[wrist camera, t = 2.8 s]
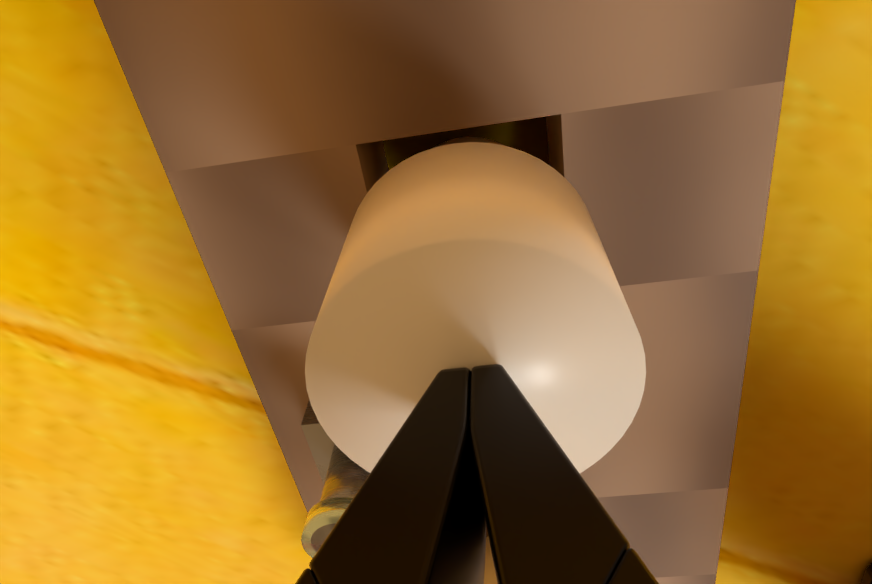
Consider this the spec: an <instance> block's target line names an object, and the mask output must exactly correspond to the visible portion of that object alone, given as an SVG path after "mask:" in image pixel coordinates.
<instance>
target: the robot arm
mask: <svg viewBox="0 0 872 584" xmlns="http://www.w3.org/2000/svg"><path fill="white" fill-rule="evenodd" d="M486 526H487V531H488V537H489V542H490V548H491V553H492V558H493V563H494V568H495V573H496V579H497V584H659V583H658V581H657V580H656V579H655V577H654V576H653V575H652V573H651V572H650V571H649V569H648V568H647V566H646V565H645V564H644V562H643V561H642V559H641V558H640V557H639V555H638V554H637V552H636V551H635V550H634V549H633V548H630V544H629V542H628V540H627V539H626V538H625V536H624V535H623V533H622V532H621V531H620V529H619V528H618V526H617V525H616V524H615V522H614V521H613V519H612V518H611V517H610V515H609V514H608V512H607V511H606V510H605V508H604V507H603V505H602V504H601V503H600V501H599V500H598V498H597V497H596V496H595V494H594V493H593V491H592V490H591V489H590V487H589V486H588V484H587V483H586V482H585V480H584V479H583V478H582V476H581V475H580V473H579V472H578V471H577V469H576V468H575V466H574V465H573V464H572V462H571V461H570V459H569V458H568V457H567V455H566V454H565V452H564V451H563V450H562V448H561V447H560V445H559V444H558V443H557V441H556V440H555V438H554V437H553V436H552V434H551V433H550V431H549V430H548V429H547V427H546V426H545V424H544V423H543V422H542V420H541V419H540V417H539V416H538V415H537V413H536V412H535V410H534V409H533V408H532V406H531V405H530V403H529V402H528V401H527V399H526V398H525V396H524V395H523V394H522V392H521V391H520V389H519V388H518V387H517V385H516V384H515V383H514V381H513V380H512V378H511V377H510V376H509V374H508V373H507V371H506V370H505V369H504V367H503V366H502V365H500V364H490V365H480V366H474V367H473V368H472V370H471V371H470V370H469V368H467V367H461V368H451V369H443V370H441V371H439V372H438V373H437V375H436V376H435V378H434V379H433V381H432V382H431V384H430V385H429V387H428V388H427V390H426V391H425V393H424V394H423V396H422V397H421V398H420V400H419V401H418V403H417V404H416V406H415V407H414V409H413V410H412V412H411V413H410V415H409V416H408V418H407V419H406V421H405V422H404V424H403V425H402V427H401V428H400V430H399V431H398V433H397V434H396V436H395V437H394V439H393V440H392V442H391V443H390V444H389V446H388V447H387V449H386V450H385V452H384V453H383V455H382V456H381V458H380V459H379V461H378V462H377V464H376V465H375V467H374V468H373V470H372V471H371V473H370V474H369V476H368V477H367V479H366V480H365V482H364V483H363V485H362V486H361V488H360V489H359V490H358V492H357V493H356V495H355V496H354V498H353V499H352V501H351V502H350V504H349V505H348V507H347V508H346V510H345V511H344V513H343V514H342V516H341V517H340V519H339V520H338V522H337V523H336V525H335V526H334V528H333V529H332V531H331V532H330V534H329V535H328V536H327V538H326V539H325V541H324V542H323V544H322V545H321V547H320V548H319V550H318V551H317V553H316V554H315V556H314V557H313V559H312V560H311V562H310V564H309V566H310V569H311V570H310V569H305V570H304V571H303V573H302V575H301V576H300V578H299V579H298V581H297V582H296V583H295V584H484V571H485V553H486ZM861 584H872V564H871V565H869V566H868V567H867V569H866V570H865V573H864V576H863V579H862V582H861Z"/></svg>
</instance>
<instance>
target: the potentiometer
mask: <svg viewBox="0 0 872 584" xmlns="http://www.w3.org/2000/svg"><path fill="white" fill-rule="evenodd" d="M301 427H302V429H303V432H304V435H305V437H306V440H307V442H308V445H309V448H310V450H311V453H312V456H313V458H314V461H315V463H316V466H317V469H318V471H319V474H320V476H321V479H322V482H323V484H324V487H323V491H322V495H321V499H320V502H319V503H317V504H316V505H314V506H313V507H312V508H311V509H310V511H309V512H308V515H307V518H306V522H305V526H304V530H303V534H302V539H301V541H302V545H303V548H304V550H305V551H306V552H307V554H308V555H309V556H311V557H312V558H313V557H314V556H315V554H316V553H317V551H318V550H319V548H320V547H321V545H322V544H323V542H324V541H325V539H326V538H327V536H328V535H329V534H330V532H331V531H332V529H333V528H334V526H335V525H336V523H337V522H338V520H339V519H340V517H341V516H342V514H343V513H344V511H345V510H346V508H347V507H348V505H349V504H350V502H351V501H352V499H353V498H354V496H355V495H356V493H357V492H358V490H359V489H360V488H361V486H362V485H363V483H364V482H365V480H366V479H367V477H368V476H369V474H370V472H368V471H366V470H365V469H363V468H362V467H360V466H359V465H358V464H356V463H355V462H354V461H352V460H351V459H350V458H349V457H348V456H347V455H345V454H344V453H343V452H342V451H341V450H340V449H339V448H338V447H337V446H336V445H335V443H334V442H333V441H332V440H331V439H330V438H329V436H328V435H327V434H326V432H325V431H324V429H323V428H322V426H321V424H320V423H319V421H318V419H317V417H316V415H315V413H314V411H313V408H312V406H311V403H310V400H309V401H308V405H307V408H306V411H305V414H304V417H303V420H302V423H301Z"/></svg>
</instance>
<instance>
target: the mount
mask: <svg viewBox="0 0 872 584" xmlns="http://www.w3.org/2000/svg"><path fill="white" fill-rule="evenodd" d="M94 2H95V5H96V7H97V9H98V12H99V14H100V17H101V19H102V21H103V24H104V26H105V29H106V31H107V33H108V36H109V38H110V41H111V43H112V45H113V48H114V50H115V53H116V55H117V57H118V60H119V62H120V65H121V67H122V69H123V72H124V74H125V76H126V79H127V81H128V84H129V86H130V88H131V91H132V93H133V96H134V98H135V100H136V103H137V105H138V108H139V110H140V112H141V115H142V117H143V120H144V122H145V124H146V127H147V129H148V131H149V134H150V136H151V139H152V141H153V143H154V146H155V148H156V151H157V153H158V155H159V158H160V160H161V163H162V165H163V167H164V170H165V172H166V175H167V177H168V179H169V182H170V184H171V186H172V189H173V191H174V194H175V196H176V198H177V201H178V203H179V206H180V208H181V210H182V213H183V215H184V218H185V220H186V222H187V225H188V227H189V230H190V232H191V234H192V237H193V239H194V241H195V244H196V246H197V249H198V251H199V253H200V256H201V258H202V261H203V263H204V265H205V268H206V270H207V273H208V275H209V277H210V280H211V282H212V285H213V287H214V289H215V292H216V294H217V297H218V299H219V301H220V304H221V306H222V308H223V311H224V313H225V316H226V318H227V320H228V323H229V325H230V328H231V330H232V332H233V335H234V337H235V340H236V342H237V344H238V347H239V349H240V352H241V354H242V356H243V359H244V361H245V363H246V366H247V368H248V371H249V373H250V375H251V378H252V380H253V383H254V385H255V387H256V390H257V392H258V395H259V397H260V399H261V402H262V404H263V407H264V409H265V411H266V414H267V416H268V418H269V421H270V423H271V426H272V428H273V430H274V433H275V435H276V438H277V440H278V442H279V445H280V447H281V450H282V452H283V454H284V457H285V459H286V462H287V464H288V466H289V469H290V471H291V474H292V476H293V478H294V481H295V483H296V485H297V488H298V490H299V493H300V495H301V497H302V500H303V502H304V505H305V507H306V509H307V512H309V511H310V509H311V508H312V507H313V506H314V505H316V504H317V503H319V502H320V499H321V495H322V491H323V487H324V484H323V482H322V479H321V476H320V474H319V471H318V469H317V466H316V463H315V461H314V458H313V456H312V453H311V450H310V448H309V445H308V442H307V440H306V437H305V435H304V432H303V429H302V427H301V423H302V420H303V417H304V414H305V411H306V408H307V405H308V401H309V396H308V392H307V388H306V379H305V361H306V352H307V348H308V344H309V340H310V336H311V334H312V331H313V328H314V325H315V323H316V320H317V317H318V314H319V312H320V309H321V306H322V303H323V300H324V298H325V295H326V292H327V289H328V287H329V284H330V281H331V278H332V276H333V273H334V270H335V267H336V265H337V262H338V259H339V256H340V254H341V251H342V248H343V245H344V243H345V240H346V237H347V234H348V232H349V229H350V226H351V223H352V221H353V218H354V216H355V214H356V211H357V209H358V207H359V205H360V204H361V202H362V200H363V199H364V197H365V195H366V194H367V193H368V191H369V190H370V189H371V188H372V187H373V185H374V184H375V183H376V182H377V181H378V180H379V179H380V178H381V177H382V176H383V175H384V174H386V173H387V172H388V171H389V169H388V164H387V159H386V155H385V150H384V145H383V140H390V139H397V138H404V137H410V136H417V135H424V134H430V133H437V132H444V131H451V130H457V129H464V128H471V127H478V126H484V125H491V124H498V123H505V122H511V121H518V120H525V119H532V118H538V117H545V116H546V125H547V140H548V155H549V165H550V166H551V167H553V168H554V169H555V170H556V171H558V172H559V173H560V174H561V175H562V176H563V177H564V178H566V179H567V180H568V182H569V183H570V184H571V185H572V186H573V187H574V189H575V190H576V191H577V192H578V194H579V196H580V197H581V199H582V200H583V202H584V204H585V205H586V208H587V210H588V212H589V215H590V217H591V219H592V222H593V224H594V226H595V229H596V231H597V234H598V236H599V238H600V241H601V243H602V245H603V248H604V250H605V253H606V255H607V257H608V260H609V262H610V265H611V267H612V269H613V272H614V274H615V277H616V279H617V281H618V284H619V286H620V289H621V291H622V293H623V296H624V298H625V301H626V303H627V305H628V308H629V310H630V313H631V315H632V317H633V320H634V322H635V324H636V327H637V329H638V332H639V334H640V336H641V340H642V344H643V348H644V353H645V362H646V378H645V387H644V392H643V396H642V399H641V403H640V406H639V408H638V410H637V413H636V415H635V417H634V419H633V421H632V423H631V424H630V426H629V427H628V429H627V430H626V432H625V433H624V435H623V436H622V438H621V439H620V440H619V441H618V442H617V443H616V444H615V446H614V447H613V448H612V449H611V450H610V451H609V452H608V453H607V454H605V455H604V456H603V457H602V458H601V459H600V460H599V461H597V462H596V463H595V464H593V465H592V466H590V467H589V468H587V469H586V470H585V471H583V472H582V473H580V475H581V476H582V478H583V479H584V480H585V482H586V483H587V484H588V486H589V487H590V489H591V490H592V491H593V493H594V494H595V496H596V497H597V498H598V500H599V501H600V503H601V504H602V505H603V507H604V508H605V510H606V511H607V512H608V514H609V515H610V517H611V518H612V519H613V521H614V522H615V524H616V525H617V526H618V528H619V529H620V531H621V532H622V533H623V535H624V536H625V538H626V539H627V540H628V542H629V544H630V548H633V549H634V550H635V551H636V552H637V554H638V555H639V557H640V558H641V559H642V561H643V562H644V564H645V565H646V566H647V568H648V569H649V571H650V572H651V573H652V575H653V576H654V577H655V579H656V580H657V581H658V583H659V584H715V581H716V574H717V566H718V559H719V552H720V545H721V537H722V530H723V523H724V516H725V509H726V501H727V494H728V487H729V480H730V472H731V465H732V458H733V451H734V443H735V436H736V429H737V422H738V415H739V407H740V400H741V393H742V386H743V378H744V371H745V364H746V357H747V349H748V342H749V335H750V328H751V320H752V313H753V306H754V299H755V292H756V284H757V277H758V270H759V263H760V255H761V248H762V241H763V234H764V226H765V219H766V212H767V205H768V198H769V190H770V183H771V176H772V169H773V161H774V154H775V147H776V140H777V132H778V125H779V118H780V111H781V104H782V96H783V89H784V82H785V75H786V67H787V60H788V53H789V46H790V38H791V31H792V24H793V17H794V9H795V2H796V0H94ZM486 537H488V531H487V526H486Z"/></svg>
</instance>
